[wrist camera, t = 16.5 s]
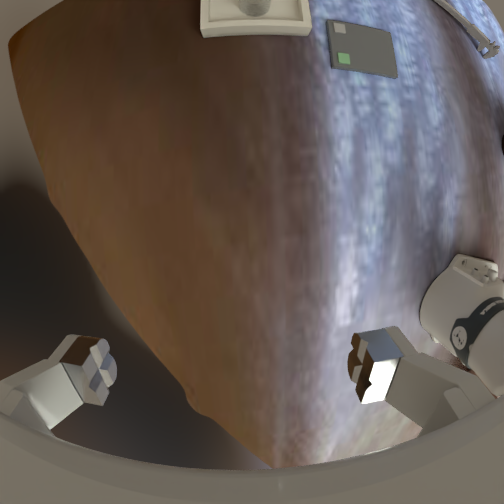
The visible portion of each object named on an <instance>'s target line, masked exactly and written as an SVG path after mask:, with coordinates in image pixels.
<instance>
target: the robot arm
mask: <svg viewBox="0 0 504 504" xmlns="http://www.w3.org/2000/svg"><path fill="white" fill-rule="evenodd" d="M420 322H421V325H422V327H423V328H424V329H425V330H426V331H427V332H429V333H430V334H431V338H432V340H433V341H434V342H435V343H439V342H440V343H441V344H442V345H443V346H444V347H445V348H446V349H447V350H449V351H450V352H451V353H452V354H453V355H454V356H457V357H458V358H459V359H460V360H461V362H462V363H463V364H464V365H465V366H466V367H467V368H469V369H472V370H473V371H474V372H475V373H476V375H477V376H476V375H473V374H471V373H468V372H466V371H464V370H461V369H459V368H457V367H454V366H452V365H450V364H447V363H445V362H443V361H440V360H438V359H436V358H434V357H431V356H429V355H427V354H424V353H418V352H417V351H416V350H415V348H414V347H413V346H412V344H411V343H410V342H409V341H408V339H407V338H406V337H405V335H404V334H403V333H402V332H401V330H400V329H399V328H398V327H396V326H391V327H386V328H382V329H378V330H371V331H365V332H358V333H354V335H353V337H352V341H351V344H352V346H353V348H354V349H353V350H352V351H351V352H350V353H349V356H348V372H349V376H350V379H351V381H353V382H355V383H356V384H357V385H356V389H355V390H356V393H357V395H358V397H359V400H360V402H361V404H365V403H370V402H375V401H380V400H384V399H385V401H386V402H388V403H389V404H390V405H392V406H393V407H394V408H396V409H397V410H398V411H400V412H401V413H403V414H404V415H405V416H407V417H408V418H409V419H411V420H412V421H414V422H415V423H416V424H418V425H419V426H421V427H422V428H423V429H422V430H421V432H420V433H419V435H418V436H417V438H415V439H412V440H409V441H406V442H404V443H401V444H398V445H395V446H391V447H388V448H385V449H381V450H378V451H374V452H371V453H367V454H363V455H359V456H355V457H350V458H346V459H341V460H336V461H331V462H325V463H319V464H313V465H306V466H298V467H289V468H277V469H262V470H207V469H193V468H181V467H173V466H165V465H158V464H152V463H146V462H140V461H135V460H130V459H126V458H121V457H117V456H113V455H109V454H105V453H101V452H98V451H94V450H91V449H87V448H84V447H81V446H78V445H75V444H72V443H69V442H66V441H64V440H61V439H58V438H56V437H55V436H54V435H53V433H52V432H51V431H50V429H51V428H53V427H54V426H55V425H57V424H58V423H59V422H60V421H62V420H63V419H64V418H65V417H67V416H68V415H69V414H70V413H72V412H73V411H74V410H75V409H76V408H78V407H79V406H80V405H82V404H83V402H85V403H91V404H96V405H102V406H103V404H104V402H105V400H106V398H107V396H108V394H109V390H108V387H109V386H111V385H112V384H114V381H115V379H116V374H117V368H116V363H115V360H114V358H113V357H112V356H111V355H110V354H109V353H108V352H109V350H110V348H109V345H108V343H107V341H106V340H105V339H102V338H95V337H87V336H78V335H68V336H67V337H66V338H65V339H64V340H63V342H62V343H61V344H60V345H59V346H58V348H57V349H56V350H55V351H54V353H53V354H52V355H51V357H49V359H48V360H46V359H44V360H42V361H40V362H38V363H36V364H34V365H32V366H30V367H28V368H26V369H24V370H22V371H20V372H18V373H16V374H14V375H12V376H10V377H8V378H5V379H3V380H1V381H0V504H504V282H503V281H502V280H501V279H499V278H498V266H497V264H496V263H494V262H491V261H487V260H483V259H479V258H475V257H471V256H467V255H462V254H457V255H456V256H455V257H454V258H453V260H452V261H451V263H450V265H449V266H448V268H447V269H446V270H445V271H444V272H442V273H441V274H440V275H439V276H438V277H437V278H436V279H435V281H434V282H433V283H432V284H431V286H430V287H429V289H428V291H427V293H426V295H425V297H424V299H423V302H422V305H421V310H420ZM478 377H479V378H480V379H479V378H478ZM482 382H483V383H484V384H485V385H484V384H483V383H482ZM486 387H487V388H488V389H489V390H488V389H487V388H486ZM490 392H491V393H492V394H494V395H496V396H500V397H499V398H497V399H495V398H494V396H493V395H492V394H491V393H490Z"/></svg>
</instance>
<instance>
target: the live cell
mask: <svg viewBox="0 0 504 504" xmlns="http://www.w3.org/2000/svg"><path fill="white" fill-rule="evenodd" d="M270 4H271V0H239V8H240V10H241V12H242V13H244V14H246V15H248V16H254V17H256V16H262V15H264V14H266V13H267V12H268V11H269V9H270Z"/></svg>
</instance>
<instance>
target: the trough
mask: <svg viewBox="0 0 504 504" xmlns="http://www.w3.org/2000/svg"><path fill="white" fill-rule="evenodd" d="M311 29H312V23H311V16H310V9H309V3H308V0H271V4H270V9H269V11H268V12H267V13H266V14H264V15H262V16H256V17H254V16H248V15H246V14H244V13H242V12H241V10H240V8H239V0H201V15H200V30H201V33H202V35H203V38H209V37H219V36H234V35H293V36H308V34H309V33H310V31H311Z"/></svg>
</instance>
